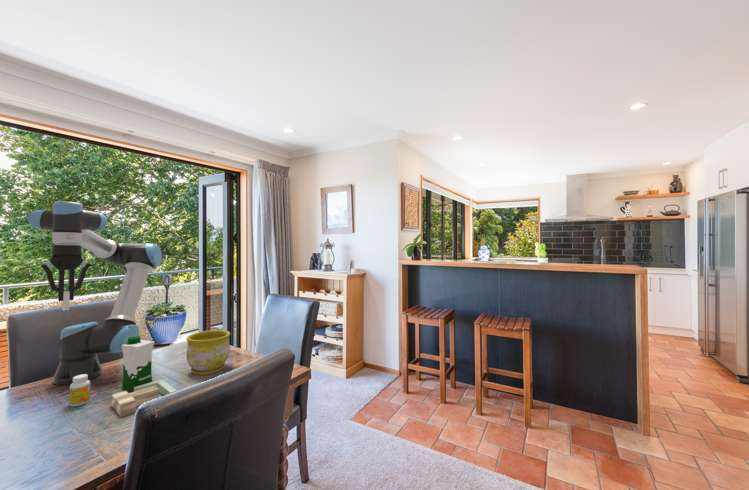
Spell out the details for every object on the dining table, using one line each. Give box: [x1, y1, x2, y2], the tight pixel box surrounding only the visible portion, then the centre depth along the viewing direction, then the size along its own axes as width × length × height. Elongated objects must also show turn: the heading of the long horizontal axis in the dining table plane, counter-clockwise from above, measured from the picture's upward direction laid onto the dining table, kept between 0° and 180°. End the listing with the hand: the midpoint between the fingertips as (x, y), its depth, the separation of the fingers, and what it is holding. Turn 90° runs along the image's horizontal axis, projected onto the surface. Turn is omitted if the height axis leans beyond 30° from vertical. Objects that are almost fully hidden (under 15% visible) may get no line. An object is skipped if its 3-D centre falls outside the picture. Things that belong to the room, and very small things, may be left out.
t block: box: [111, 386, 160, 418], centre depth 110 cm, size 12×12×4 cm
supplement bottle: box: [68, 374, 91, 407], centre depth 111 cm, size 5×5×10 cm
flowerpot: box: [186, 329, 231, 376], centre depth 142 cm, size 18×18×16 cm
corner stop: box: [133, 379, 177, 396], centre depth 116 cm, size 16×9×3 cm, turn 53°
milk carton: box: [121, 335, 155, 392], centre depth 124 cm, size 9×9×20 cm
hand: (65, 309), depth 109 cm, fingers closed
